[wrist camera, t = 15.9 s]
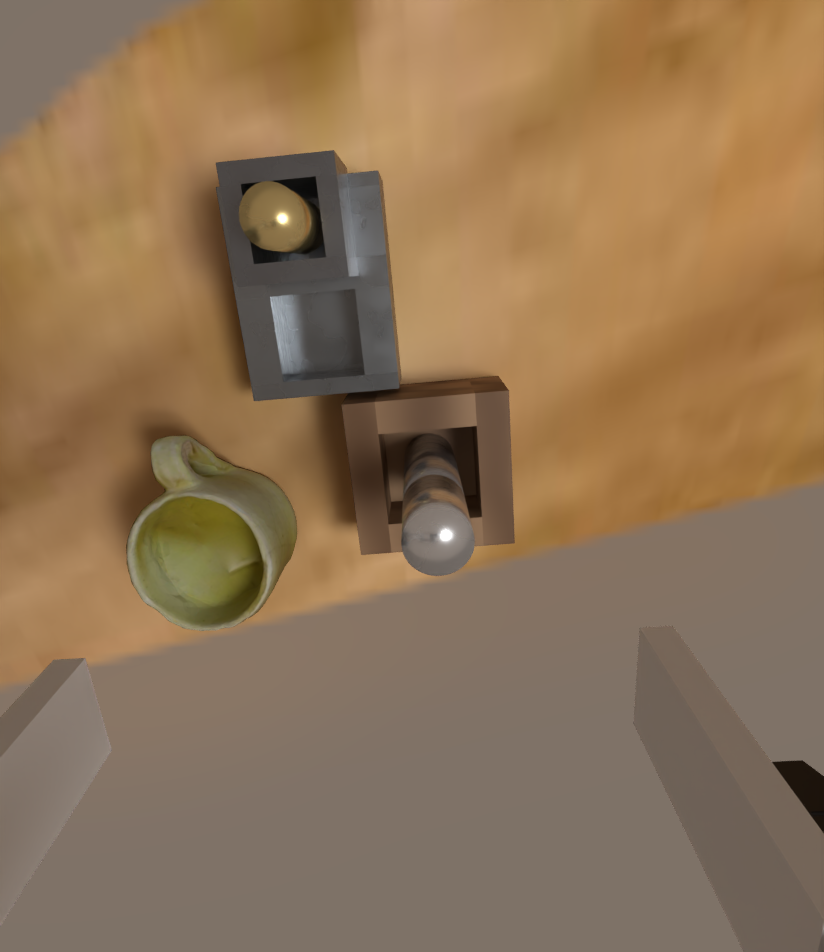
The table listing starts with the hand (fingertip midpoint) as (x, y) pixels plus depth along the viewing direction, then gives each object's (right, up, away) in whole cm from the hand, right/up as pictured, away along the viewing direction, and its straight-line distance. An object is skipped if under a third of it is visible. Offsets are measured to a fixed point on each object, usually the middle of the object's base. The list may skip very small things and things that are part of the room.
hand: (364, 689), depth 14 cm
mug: (-12, +4, +29) cm, 32 cm away
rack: (+2, +7, +28) cm, 29 cm away
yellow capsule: (-5, +19, +19) cm, 27 cm away
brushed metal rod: (+2, +6, +27) cm, 28 cm away
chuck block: (-5, +17, +24) cm, 30 cm away
